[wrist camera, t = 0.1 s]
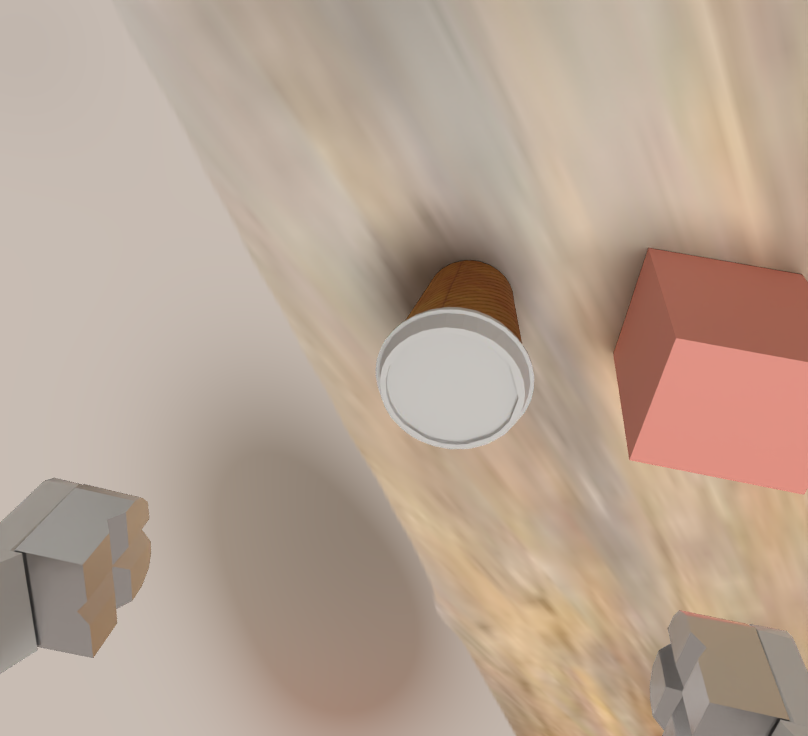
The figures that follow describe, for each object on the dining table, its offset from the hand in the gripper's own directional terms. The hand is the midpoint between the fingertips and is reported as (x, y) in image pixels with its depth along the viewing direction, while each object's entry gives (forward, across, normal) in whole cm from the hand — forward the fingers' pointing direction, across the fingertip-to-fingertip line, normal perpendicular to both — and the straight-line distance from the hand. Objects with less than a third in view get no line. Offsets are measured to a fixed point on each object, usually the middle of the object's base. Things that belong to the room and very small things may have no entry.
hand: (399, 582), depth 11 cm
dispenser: (+40, -16, +9) cm, 44 cm away
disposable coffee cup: (+40, 0, +11) cm, 42 cm away
